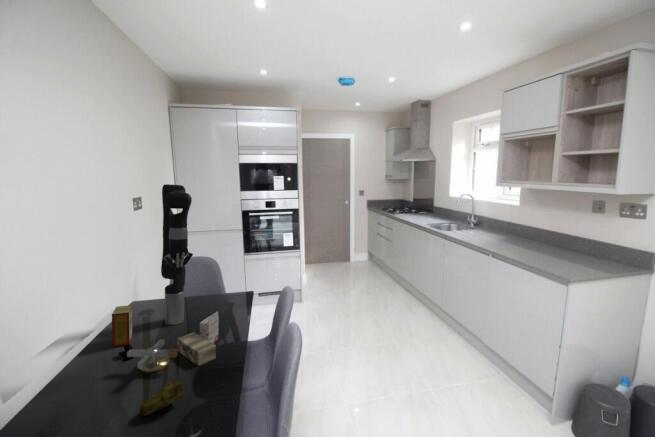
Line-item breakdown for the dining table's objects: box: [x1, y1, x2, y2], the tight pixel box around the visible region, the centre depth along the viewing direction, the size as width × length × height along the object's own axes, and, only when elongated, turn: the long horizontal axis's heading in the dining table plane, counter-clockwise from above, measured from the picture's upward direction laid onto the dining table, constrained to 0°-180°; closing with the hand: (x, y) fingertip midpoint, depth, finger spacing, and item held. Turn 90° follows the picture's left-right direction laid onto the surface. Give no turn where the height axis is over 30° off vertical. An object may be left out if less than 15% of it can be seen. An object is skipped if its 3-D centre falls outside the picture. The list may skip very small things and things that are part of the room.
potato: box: [139, 380, 185, 417], centre depth 103 cm, size 8×13×8 cm, turn 114°
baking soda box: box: [111, 304, 134, 348], centre depth 143 cm, size 10×6×16 cm
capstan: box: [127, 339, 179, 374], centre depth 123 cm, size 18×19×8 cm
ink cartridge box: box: [199, 310, 219, 344], centre depth 146 cm, size 9×5×15 cm, turn 168°
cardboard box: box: [176, 331, 217, 367], centre depth 135 cm, size 18×9×6 cm, turn 53°
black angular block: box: [118, 343, 134, 363], centre depth 132 cm, size 12×7×5 cm, turn 43°
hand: (178, 274), depth 137 cm, fingers closed
